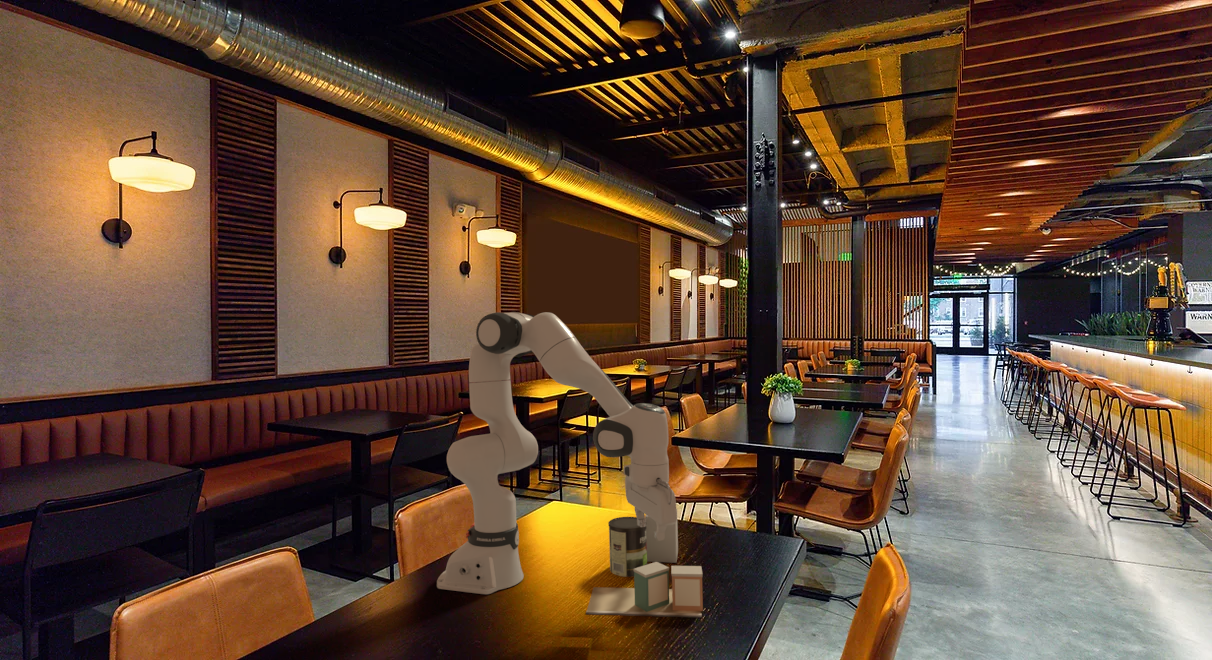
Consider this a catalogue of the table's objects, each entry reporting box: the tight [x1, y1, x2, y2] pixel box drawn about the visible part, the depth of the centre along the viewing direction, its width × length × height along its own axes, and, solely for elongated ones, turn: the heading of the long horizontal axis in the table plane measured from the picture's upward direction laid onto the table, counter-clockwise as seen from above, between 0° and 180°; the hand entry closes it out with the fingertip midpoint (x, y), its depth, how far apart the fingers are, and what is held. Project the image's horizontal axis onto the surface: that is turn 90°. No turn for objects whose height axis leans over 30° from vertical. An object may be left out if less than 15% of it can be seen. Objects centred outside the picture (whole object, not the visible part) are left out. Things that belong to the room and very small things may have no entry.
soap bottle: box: [645, 508, 679, 564], centre depth 170 cm, size 9×9×19 cm
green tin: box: [633, 562, 670, 612], centre depth 137 cm, size 5×7×8 cm
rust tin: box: [670, 565, 704, 612], centre depth 136 cm, size 5×7×8 cm
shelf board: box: [585, 586, 703, 618], centre depth 139 cm, size 26×14×2 cm, turn 84°
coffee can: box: [608, 516, 648, 578], centre depth 158 cm, size 10×10×14 cm
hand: (650, 532), depth 137 cm, fingers open, 8 cm apart
